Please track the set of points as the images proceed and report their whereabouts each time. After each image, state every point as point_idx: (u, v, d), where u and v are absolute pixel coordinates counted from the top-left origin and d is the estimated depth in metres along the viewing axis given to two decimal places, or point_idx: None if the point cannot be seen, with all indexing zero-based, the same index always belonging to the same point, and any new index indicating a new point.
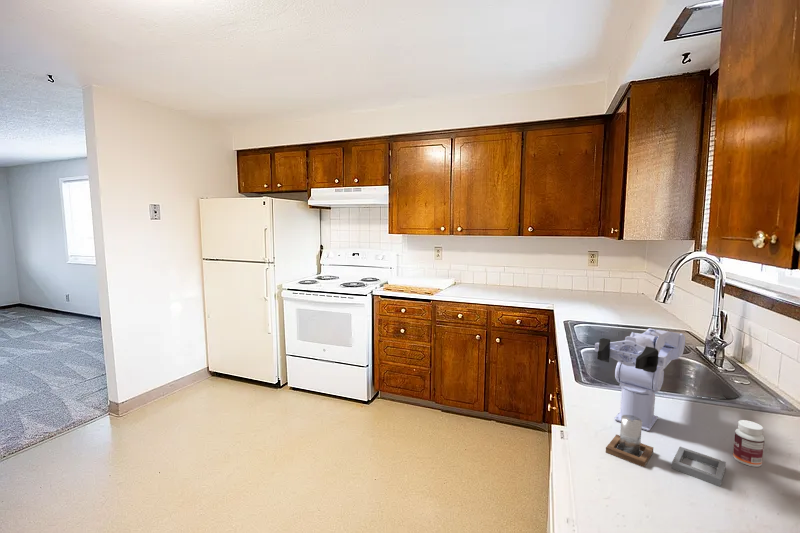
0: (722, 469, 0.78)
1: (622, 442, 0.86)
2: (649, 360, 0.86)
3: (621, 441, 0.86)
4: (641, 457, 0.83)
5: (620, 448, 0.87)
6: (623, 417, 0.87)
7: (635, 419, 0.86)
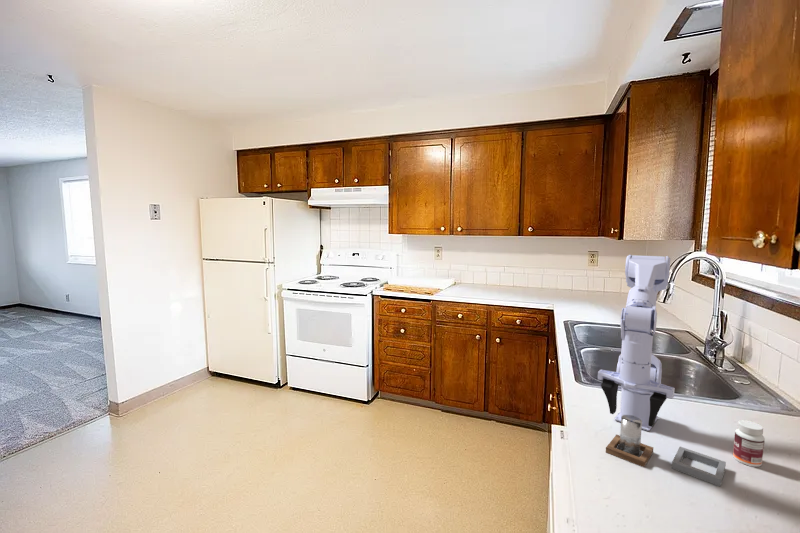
0: (722, 469, 0.78)
1: (622, 442, 0.86)
2: None
3: (621, 441, 0.86)
4: (641, 457, 0.83)
5: (620, 448, 0.87)
6: (623, 417, 0.87)
7: (635, 419, 0.86)
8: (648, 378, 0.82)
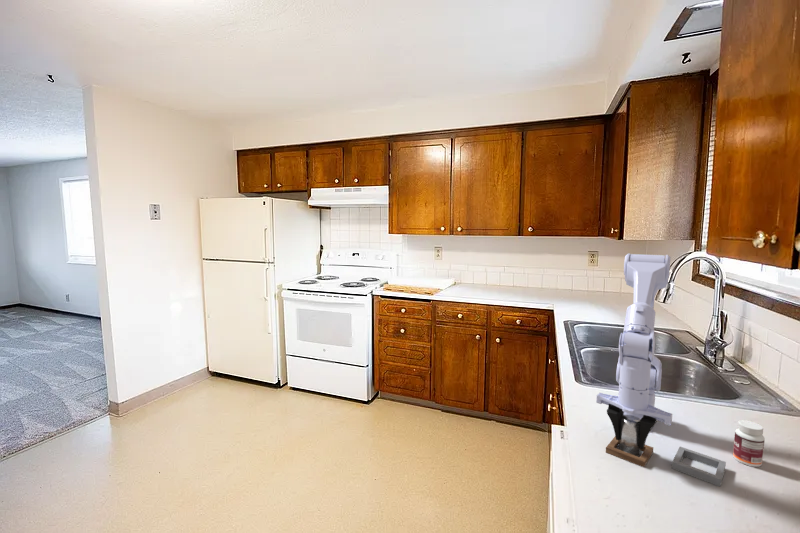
0: (722, 469, 0.78)
1: (622, 442, 0.86)
2: None
3: (621, 441, 0.86)
4: (641, 457, 0.83)
5: (620, 448, 0.87)
6: (623, 417, 0.87)
7: (635, 419, 0.86)
8: (646, 403, 0.83)
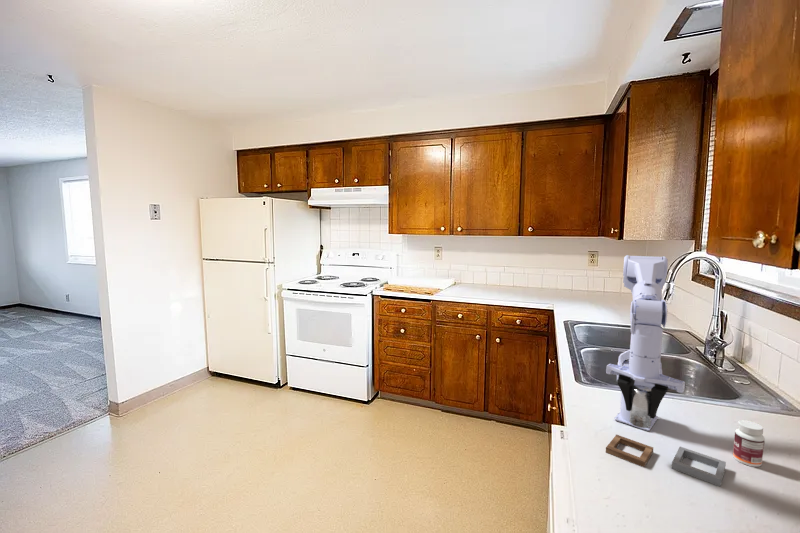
0: (722, 469, 0.78)
1: (633, 412, 0.84)
2: None
3: (632, 411, 0.85)
4: (641, 457, 0.83)
5: (631, 419, 0.85)
6: (634, 387, 0.85)
7: (646, 389, 0.84)
8: (658, 372, 0.81)
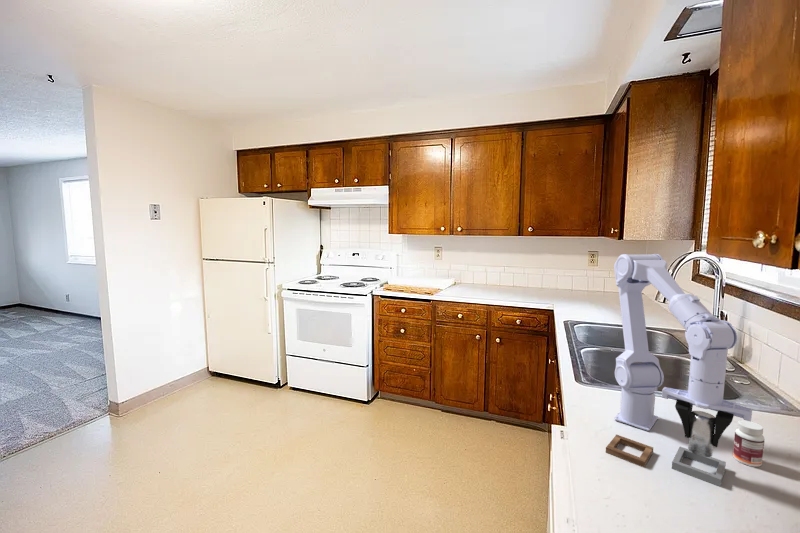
0: (722, 469, 0.78)
1: (693, 439, 0.80)
2: None
3: (691, 439, 0.80)
4: (641, 457, 0.83)
5: (690, 446, 0.81)
6: (693, 413, 0.80)
7: (707, 415, 0.79)
8: (722, 398, 0.77)
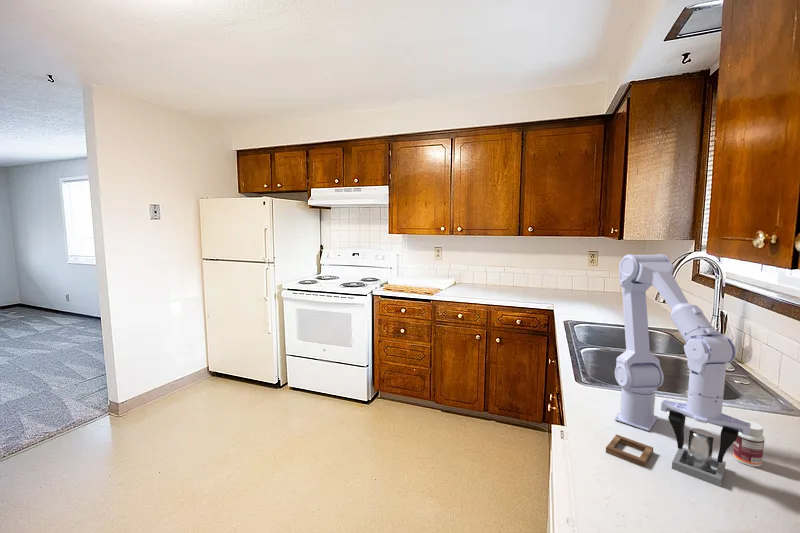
0: (722, 469, 0.78)
1: (691, 457, 0.80)
2: None
3: (690, 456, 0.81)
4: (641, 457, 0.83)
5: (688, 464, 0.81)
6: (692, 431, 0.81)
7: (705, 433, 0.80)
8: (720, 412, 0.77)
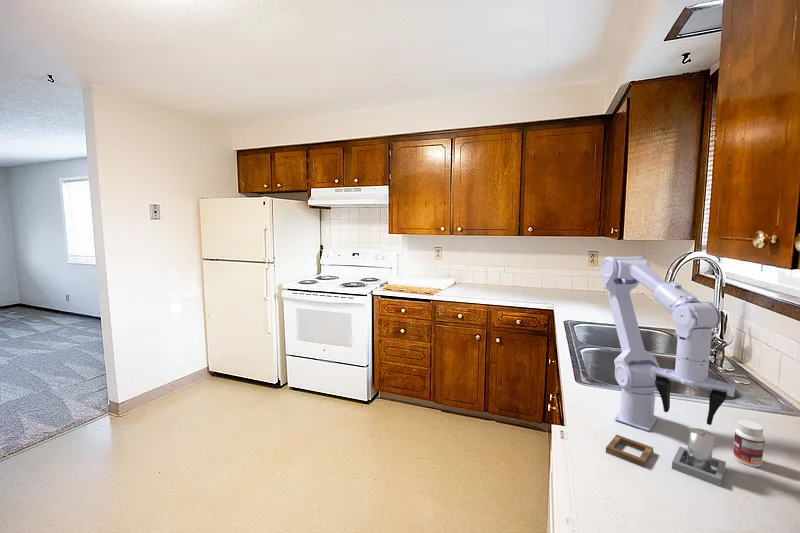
0: (722, 469, 0.78)
1: (691, 457, 0.80)
2: None
3: (690, 456, 0.81)
4: (641, 457, 0.83)
5: (688, 464, 0.81)
6: (692, 431, 0.81)
7: (705, 433, 0.80)
8: (706, 375, 0.81)
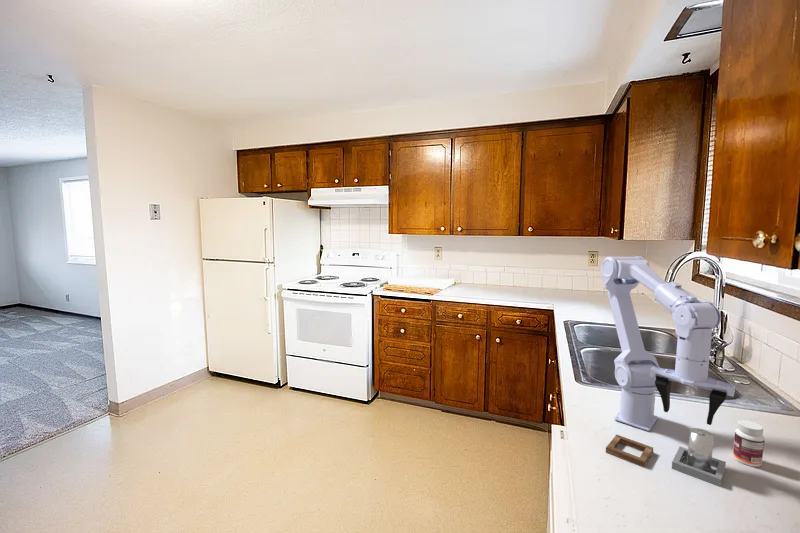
0: (722, 469, 0.78)
1: (691, 457, 0.80)
2: None
3: (690, 456, 0.81)
4: (641, 457, 0.83)
5: (688, 464, 0.81)
6: (692, 431, 0.81)
7: (706, 433, 0.80)
8: (706, 375, 0.81)
